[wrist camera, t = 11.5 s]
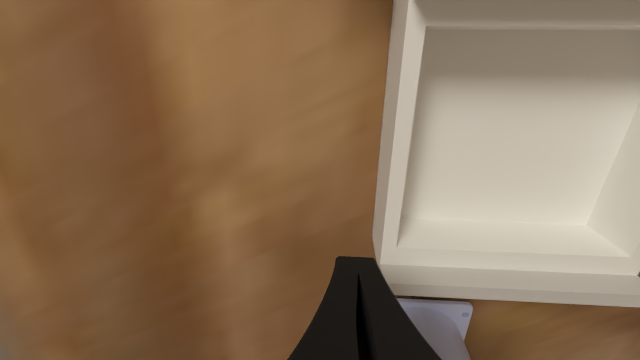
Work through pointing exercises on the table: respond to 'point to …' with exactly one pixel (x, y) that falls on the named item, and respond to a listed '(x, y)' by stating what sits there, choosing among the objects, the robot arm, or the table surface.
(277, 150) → the table surface
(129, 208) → the table surface
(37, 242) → the table surface
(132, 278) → the table surface
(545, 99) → the box
